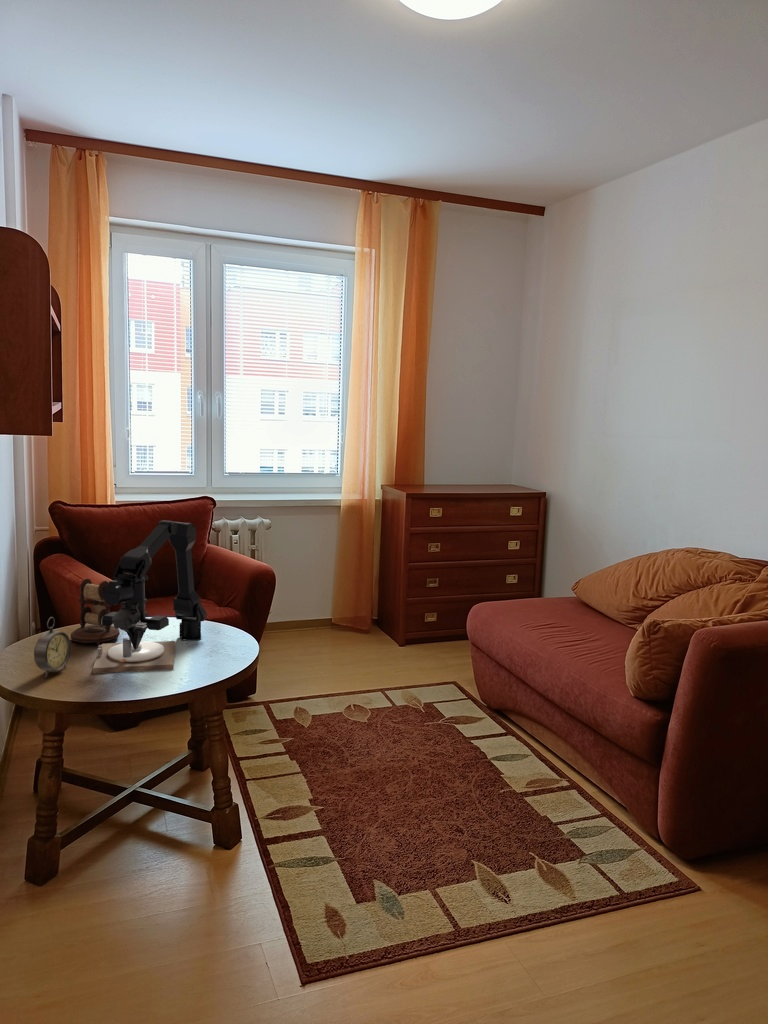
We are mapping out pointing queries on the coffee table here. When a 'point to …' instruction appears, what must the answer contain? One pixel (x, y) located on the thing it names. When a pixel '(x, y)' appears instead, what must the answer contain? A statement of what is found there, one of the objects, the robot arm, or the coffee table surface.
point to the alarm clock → (52, 650)
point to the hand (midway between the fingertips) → (136, 649)
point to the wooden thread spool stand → (93, 615)
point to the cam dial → (135, 651)
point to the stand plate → (110, 665)
